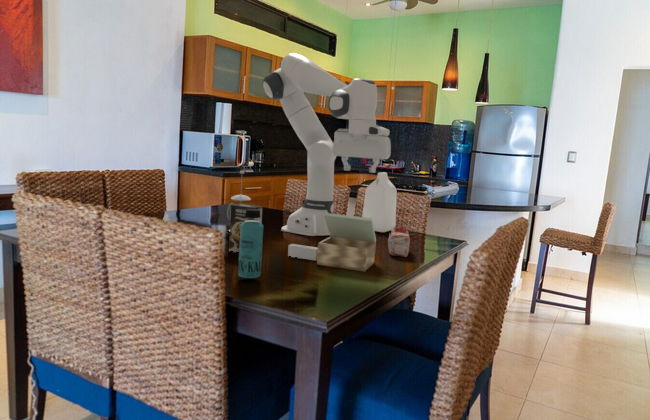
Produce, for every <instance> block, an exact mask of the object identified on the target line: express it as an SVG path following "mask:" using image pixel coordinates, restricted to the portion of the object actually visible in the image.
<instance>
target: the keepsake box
mask: <svg viewBox="0 0 650 420" xmlns="http://www.w3.org/2000/svg"><path fill="white" fill-rule="evenodd" d="M376 244H377V243H374V242H366V241H359V240H351V239H344V238H336V237H330V236H329V237H326V238H325V239H323V240H320V241H319V242H318V243H317V247H318V252H317V260H316V265H318V266H326V267H332V268H339V269H346V270H352V271H353V270H354V271H357V272H364V273H365V272H366V271H367V270H369V269H370V268H371V266H373V265H374V264H375V255H376Z"/></svg>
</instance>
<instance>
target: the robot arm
mask: <svg viewBox="0 0 650 420" xmlns="http://www.w3.org/2000/svg"><path fill="white" fill-rule="evenodd" d="M262 87H263V91H264V92H265V93H266V95H267V97H268V98H269V99H271V100H273V101H278V100H279V102H280V105H281V108H282V110H283V112H284V114H285V116H286V118H287V119H288V122H289V123H290V125H291V127H292V129H293V130H294V132H295V134H296V135H297V137H298V139H299V141H301V143H302V145H304V147H305V149H306V151H307V153H306V155H307V158H306V159H307V160H306V161H307V162H306V163H307V164H306V167H307V169H306V170H307V185H306V186H307V187H306V198H304V199H302V200H301V201H300V204H302V205H301V207H300V208H299V209H297V210H296V211H294V212H292V213H291V214H290V215H289V216H288V219H287V221H286V225H284V226H282V227H281V229H280V231H281V232H286V233H293V234H297V235H298V234H299V235H301V236H302V235H303V236H308V237H309V236H310V237H315V236H316V237H317V236H330V234H329V230H328V227H327V224H326V221H325V217H324V213H330V214H334V207H335V206H334V205H335V204H334V203H335V202H334V200H333V199H334V189H335V188H334V186H335V161H336V159H337V157H341V162H342V164H343V170H344V171H347V172H348V171H349V172H350V171H351V167H352V166H351V165H350V164H349V162H348V160H349V158H358V159H359V158H362V159H372V162H373V164H372V165H371V166H368V167H369V171H368V172H369V173H370V174H371V173H372V174H373V173H376V170H377V167H378V165H379V164H380V161H381V160H388V159H389V158H390V157H391V153H392V152H391V150H392V146H391V145H392V144H391V138H390V137H389V136H390V132H391V131H390V129H388V128H385V127H383V126H380V125H378V124H377V118H376V113H377V110H378V88H377V84H376V82H375V81H374V80H370V79H365V78H360V77H359V78H358V77H356V78H353V79H352V80H351V82H350V83H349V84H347V83H345V82H344V81H342V80H340V79H339V78H337V77H335V75H333V74H331V73H329V72H328V71H327V70H325V69H324V68H322V67H321V66H320V65H318V64H317V63H315V62H314V61H312V60H311V59H310V58H308V57H307V56H304V55H301V54H300V53H299V54H298V53H296V52H292V53H291V52H290V53H289V54H286V55H285V56H284V57H283V58H282V59H281V62H280V67H279V68H277V69H275V70H274V71H272V72H269V73H268V74H266V76H265V77H264V78H263V80H262ZM305 93H307V94H312V95H318V96H327V97H329V98H328V105H327V106H328V111H329V113H330V115H331V116H332V117H334V118H336V119H342V120H348V128H338V129H337V130H335V132H334V134H333V135H334V136H333V138H334V140H332V139H331V137H330V136H329V134H328V132H327V130H326V129H325V127H324V126H323V124H322V123H321V121H320V120H319V117H318V116H317V114H316V112H315V110H314V109H313V107H312V105H311V103H310V101H309V99H307V97H306V95H305Z"/></svg>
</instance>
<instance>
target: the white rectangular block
mask: <svg viewBox="0 0 650 420" xmlns="http://www.w3.org/2000/svg"><path fill="white" fill-rule="evenodd" d="M287 248H288V249H287V251H288V252H287V257H289V256H291V257H290V258H295V257H297V259H303V260H307V261H308V260H309V261H316V262H317V252H318V246H317V247H315V246H309V245H303V244H296V243H291V244H288V247H287Z"/></svg>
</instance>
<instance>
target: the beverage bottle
mask: <svg viewBox="0 0 650 420" xmlns="http://www.w3.org/2000/svg"><path fill="white" fill-rule="evenodd" d="M245 217H248V218H260V210H258V209H246V213H245ZM263 237H264V224H263V223H262V224H261V223H260V222H259V221H253V220H247V221H244V222H243V223H242V224H241V231H240V244H239V245H240V246H239V253H237V255H238V260H237V261H238V262H237V273H238V277H240V278H243V279H256V278H259V277H261V274H262V268H263V267H262V262H263V259H262V258H263V242H264V241H263V240H264V239H263Z"/></svg>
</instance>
